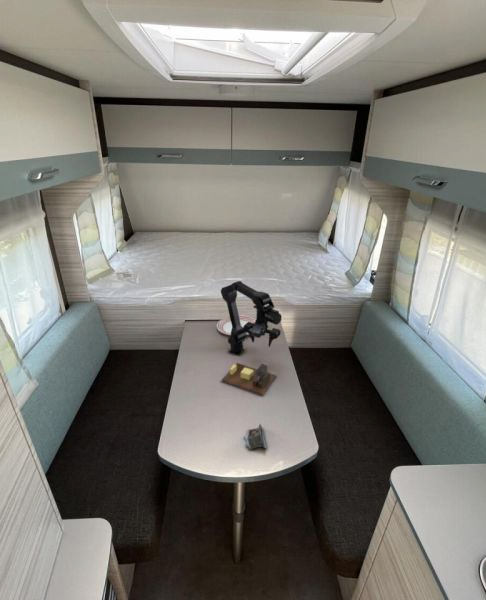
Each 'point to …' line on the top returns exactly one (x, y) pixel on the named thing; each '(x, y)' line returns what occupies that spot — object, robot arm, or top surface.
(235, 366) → the butter slice
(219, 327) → the dinner plate
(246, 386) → the cutting board
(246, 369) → the butter stick
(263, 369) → the dark grey block
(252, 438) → the grey irregular block
